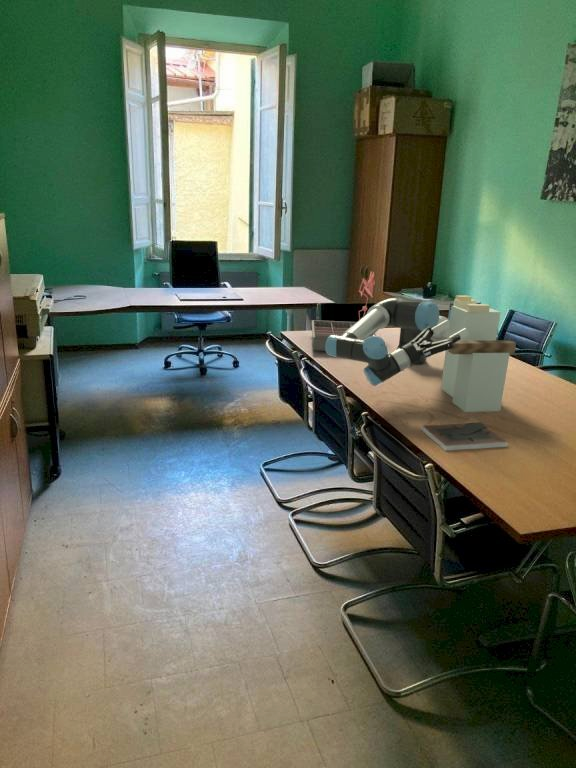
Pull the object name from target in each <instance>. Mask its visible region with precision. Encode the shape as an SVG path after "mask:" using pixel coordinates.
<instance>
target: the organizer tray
mask: <svg viewBox="0 0 576 768" xmlns="http://www.w3.org/2000/svg"><path fill="white" fill-rule="evenodd" d="M356 322H357V321H341V320H340V321H335V320H320V319H319V320H318V319H317V320H314V319H313V320H312V319H311V336H312V338H311V339H312V351H322V352H323V351H325V352H326V348H325V345H326V341H327V338H328V337H329V336H330V335H338V336H340V335H342V334H343V333H344V332H345V331H347V330H348V329H349V328H350V327H351V326H353V325H354V324H355V323H356ZM372 336H377V333H374V334H373V335H372ZM372 336H371V337H372Z"/></svg>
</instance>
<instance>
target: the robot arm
mask: <svg viewBox="0 0 576 768" xmlns="http://www.w3.org/2000/svg"><path fill="white" fill-rule="evenodd" d="M363 316H364V317H363ZM363 316H362V317H360V320H359V319H358V321H355V322H356V323H355V324H354V325H353V326H351V327H350V328H349V329H348V330H347V331H345V332H344V333H343V334H342V335H340V336H338V335H330V336H329V337H328V338H327V341H326V345H325V348H326V351H325V352H326V354H327V355H328V356H330V357H335V358H340V359H344V360H345V359H346V360H351V361H356V362H361V363H362V362H363V363H367V366H365V367H364V368H363V374H364V376H365V377H366V379H367V381H368V382H369V384H371V386H375V387H376V386H377V385H380V384H381V383H384V382H385V381H388V380H390V379H391V378H392V377H394V376H396V375H397V374H399V373H400V372H404V371H405V370H406V369H408V368H410V366H417V365H418V366H420V365H425V364H426V363H427V358H429V357H431V356H433V355H436V354H439V353H442V352H446V350H449V349H452V348H454V346H453V344H454V343H456V342H457V341H459V340H461V339H463V338H464V337H466V336H468V335H469V334H468V332H467V329H466V328H464V329H462V330H460V331H459V332H457V333H455V334H453V335H452V336H450V337H449V339H447V337H448V329H449V327H450V324H449V322H450V319H448V317H445V316H442V315H440V308H439V306H438V304H437V303H435V302H433V301H430V300H420V299H412V298H404V297H390V298H386V299H383V300H380V301H378V302H377V303H374V305H372V306H371V307H369V309H367V312H366V313H365V314H364V315H363ZM386 327H395V328H399V330H400V331H399V341H398V345H397V347H396V349H395V350H393V351H392V352H390V353H389V352H388V347H387V344H386V342H385V340H384V339H383V337H381V336H380V335H379V336H378V335H376V336H372V335H373V334H374V333H375V332H377V333H378V331H379V330H382V329H384V328H386ZM375 334H376V333H375ZM371 336H372V337H371Z"/></svg>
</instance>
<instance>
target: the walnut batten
mask: <svg viewBox="0 0 576 768" xmlns="http://www.w3.org/2000/svg"><path fill="white" fill-rule="evenodd" d="M516 345H517V342H515V341H512V340H509V339H507V340H502V339H501V340H498V339H496V340H495V341H457V342H456V343H454V344H453V346H454V348H452V349H449V350H448V352H450V353H452V354H472V353H510V354H509V355H515V352H516V348H517V347H516Z"/></svg>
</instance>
